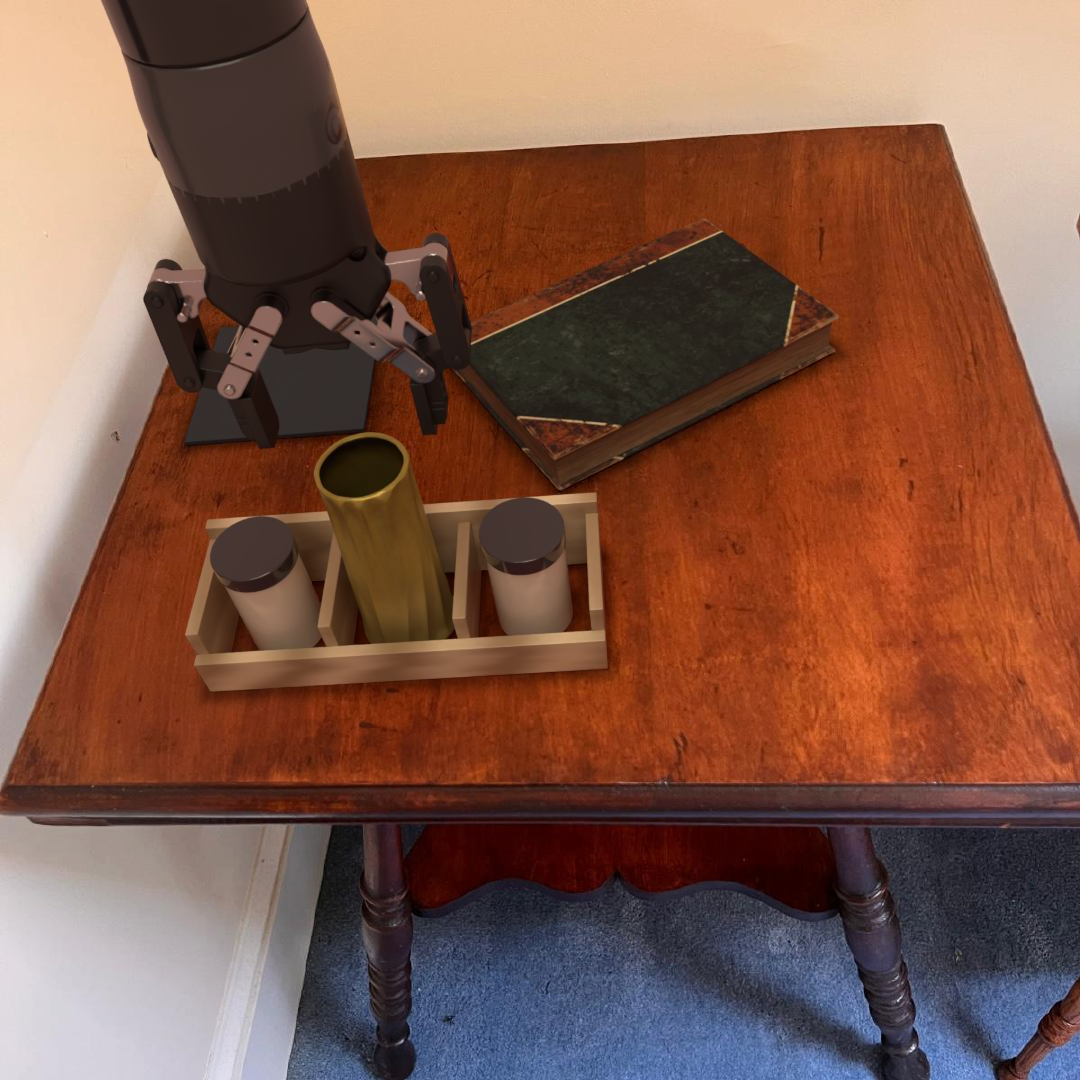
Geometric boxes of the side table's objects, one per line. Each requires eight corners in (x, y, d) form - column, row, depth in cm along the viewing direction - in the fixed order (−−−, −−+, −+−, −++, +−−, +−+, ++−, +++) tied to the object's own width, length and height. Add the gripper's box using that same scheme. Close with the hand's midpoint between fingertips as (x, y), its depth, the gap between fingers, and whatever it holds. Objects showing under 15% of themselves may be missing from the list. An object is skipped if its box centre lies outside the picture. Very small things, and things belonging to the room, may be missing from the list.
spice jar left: (245, 662, 66) (201, 583, 59) (259, 599, 69) (218, 518, 63) (323, 658, 65) (286, 577, 59) (332, 595, 68) (299, 512, 62)
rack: (210, 692, 64) (175, 636, 60) (237, 577, 70) (207, 519, 66) (608, 668, 63) (602, 610, 58) (601, 553, 69) (596, 491, 64)
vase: (351, 652, 65) (287, 500, 54) (383, 577, 69) (329, 420, 58) (442, 666, 64) (395, 513, 53) (470, 589, 68) (431, 431, 57)
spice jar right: (495, 647, 64) (477, 565, 58) (497, 584, 68) (480, 500, 62) (575, 642, 64) (565, 559, 58) (573, 579, 67) (563, 494, 61)
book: (557, 494, 72) (836, 353, 79) (553, 458, 70) (842, 315, 76) (445, 364, 83) (700, 249, 89) (438, 328, 80) (701, 212, 87)
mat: (186, 445, 79) (184, 442, 79) (221, 331, 89) (219, 327, 88) (364, 432, 78) (363, 428, 78) (382, 317, 88) (381, 313, 87)
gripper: (433, 76, 43) (487, 372, 56) (106, 111, 44) (230, 394, 57) (421, 171, 39) (483, 473, 51) (54, 207, 40) (202, 494, 52)
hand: (350, 431), depth 54 cm, fingers open, 8 cm apart
